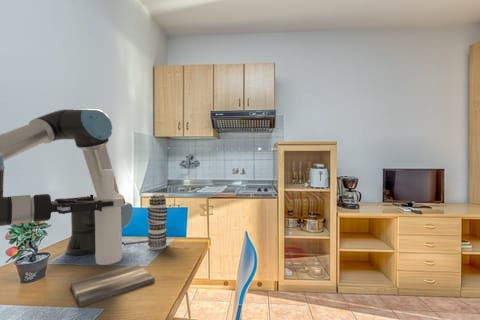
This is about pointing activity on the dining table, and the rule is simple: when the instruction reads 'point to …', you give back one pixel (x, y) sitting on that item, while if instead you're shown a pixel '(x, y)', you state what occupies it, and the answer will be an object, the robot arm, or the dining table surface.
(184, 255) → the dining table surface
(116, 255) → the bottle
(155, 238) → the decorative candle
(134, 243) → the wooden handled claw tool
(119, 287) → the subfloor panel
